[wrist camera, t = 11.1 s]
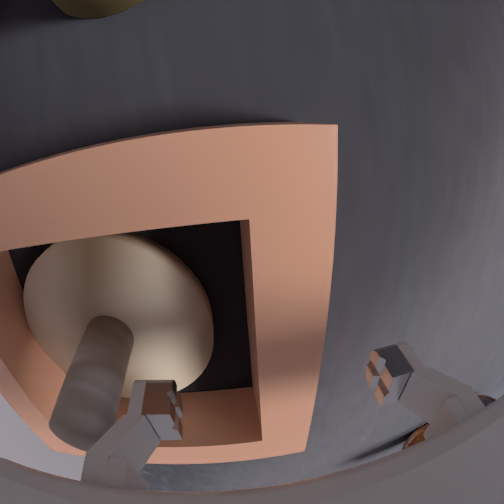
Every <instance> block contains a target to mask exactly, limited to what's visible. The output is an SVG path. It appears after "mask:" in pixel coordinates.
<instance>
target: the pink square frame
mask: <svg viewBox="0 0 504 504" xmlns="http://www.w3.org/2000/svg"><path fill="white" fill-rule="evenodd" d="M337 168H338V125H333V124H322V123H310V122H261V123H242V124H227V125H215V126H205V127H195V128H187V129H179V130H171V131H164V132H157V133H151V134H145V135H139V136H133V137H128V138H123V139H118V140H113V141H108V142H103V143H99V144H94V145H90V146H86V147H81V148H77V149H73V150H70V151H66V152H62V153H58V154H55V155H51V156H48V157H44V158H41V159H38V160H35V161H31V162H28V163H25V164H22V165H19V166H16V167H13V168H10V169H8V170H5V171H2V172H0V393H1V394H2V395H3V397H4V398H5V399H6V400H7V402H8V403H9V404H10V405H11V407H12V408H13V409H14V410H15V411H16V413H17V414H18V415H19V416H20V417H21V418H22V419H23V421H24V422H25V423H26V424H27V425H28V426H29V427H30V428H31V429H32V430H33V431H34V432H35V433H36V435H38V437H40V439H41V440H42V441H43V442H44V443H45V444H46V445H47V446H48V447H50V448H51V449H52V450H53V451H58V452H63V453H68V454H73V455H78V456H84V457H85V456H86V451H83V450H80V449H77V448H75V447H73V446H70V445H69V444H67V443H65V442H63V441H62V440H61V439H59V438H58V437H57V436H56V435H55V434H54V433H53V432H52V431H51V430H50V428H49V421H50V418H51V415H52V412H53V409H54V406H55V403H56V401H57V398H58V395H59V392H60V390H61V387H62V385H63V382H64V379H65V377H66V374H65V372H64V371H63V370H62V369H60V368H59V367H58V366H57V365H56V364H55V363H54V362H53V361H52V360H51V359H50V358H49V357H48V356H47V355H46V353H45V352H44V351H43V349H42V348H41V347H40V345H39V344H38V342H37V341H36V339H35V337H34V336H33V333H32V331H31V329H30V327H29V324H28V321H27V318H26V315H25V309H24V300H23V294H24V291H23V289H22V287H21V284H20V282H19V279H18V276H17V274H16V271H15V269H14V266H13V263H12V260H11V257H10V254H9V251H8V250H11V249H17V248H23V247H29V246H36V245H42V244H48V243H55V242H62V241H68V240H75V239H82V238H89V237H97V236H104V235H112V234H119V233H127V232H135V231H143V230H152V229H160V228H169V227H178V226H187V225H196V224H205V223H215V222H225V221H236V220H240V230H241V244H242V257H243V271H244V284H245V297H246V310H247V323H248V335H249V348H250V360H251V372H252V384H253V386H252V387H244V388H235V389H225V390H214V391H201V392H184V393H180V395H181V398H182V403H183V416H182V417H181V419H180V420H181V422H182V425H183V436H182V440H160V441H161V442H160V443H159V445H158V446H157V448H156V449H155V451H154V452H153V453H152V455H151V456H150V458H149V459H148V461H147V462H146V463H152V464H204V463H221V462H234V461H244V460H253V459H260V458H267V457H274V456H280V455H286V454H292V453H297V452H302V451H305V447H306V443H307V438H308V433H309V429H310V424H311V419H312V413H313V408H314V403H315V397H316V391H317V386H318V380H319V373H320V367H321V361H322V354H323V347H324V340H325V332H326V324H327V316H328V307H329V298H330V288H331V278H332V266H333V254H334V240H335V223H336V202H337ZM129 401H130V398H126V397H121V398H120V403H119V408H118V413H117V418H116V422H117V421H118V420H119V419H120V418H121V417H122V416H123V415H127V412H128V406H129Z"/></svg>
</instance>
